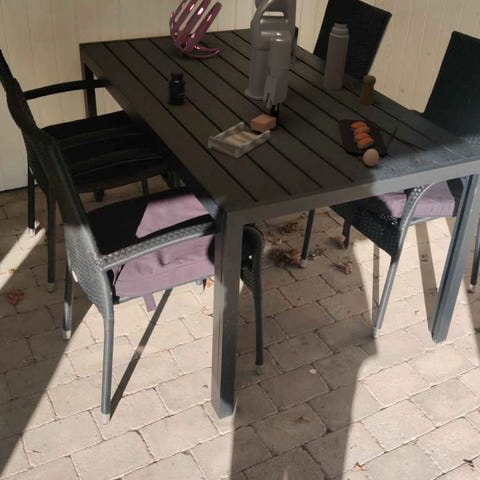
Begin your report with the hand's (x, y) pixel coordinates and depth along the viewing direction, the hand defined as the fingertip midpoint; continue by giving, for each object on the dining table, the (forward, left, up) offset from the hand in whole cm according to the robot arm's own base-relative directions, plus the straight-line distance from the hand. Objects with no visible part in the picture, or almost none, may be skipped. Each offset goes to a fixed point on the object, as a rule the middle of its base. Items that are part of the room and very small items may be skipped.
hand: (273, 119), depth 246 cm
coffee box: (-67, -35, -2) cm, 75 cm away
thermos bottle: (-52, -2, -2) cm, 52 cm away
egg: (+8, +43, -2) cm, 44 cm away
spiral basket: (-47, -72, -2) cm, 86 cm away
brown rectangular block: (+7, 0, -2) cm, 7 cm away
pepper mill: (-45, +17, -2) cm, 48 cm away
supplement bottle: (+7, -40, -2) cm, 41 cm away
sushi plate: (-14, +38, -2) cm, 40 cm away
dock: (+22, 0, -2) cm, 22 cm away
